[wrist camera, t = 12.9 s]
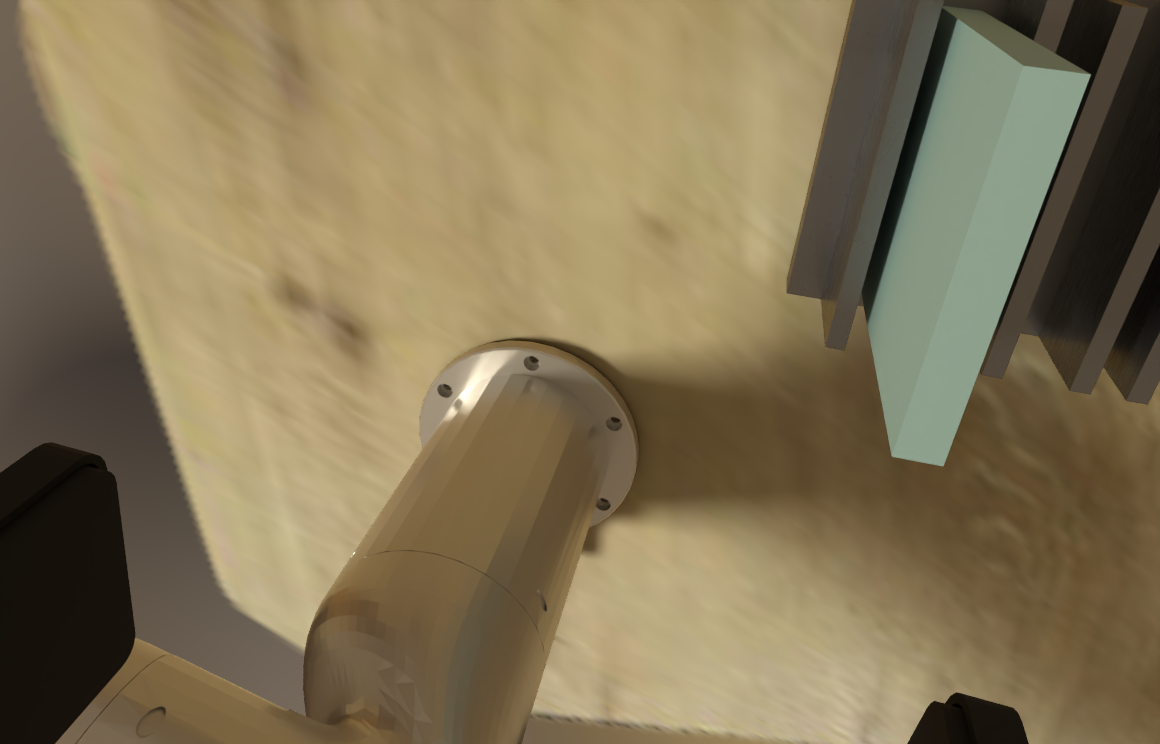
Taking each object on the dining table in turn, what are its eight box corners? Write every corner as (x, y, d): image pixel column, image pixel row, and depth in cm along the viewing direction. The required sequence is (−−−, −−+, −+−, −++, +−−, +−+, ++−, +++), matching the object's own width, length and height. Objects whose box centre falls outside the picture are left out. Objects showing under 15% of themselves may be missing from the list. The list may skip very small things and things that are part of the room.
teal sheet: (895, 292, 39) (943, 466, 27) (860, 286, 39) (891, 456, 27) (981, 10, 33) (1090, 74, 21) (939, 5, 33) (1023, 65, 21)
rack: (1231, 356, 39) (1305, 432, 33) (786, 281, 42) (786, 340, 36) (1408, 28, 32) (1539, 55, 26) (861, -38, 35) (875, -25, 29)
